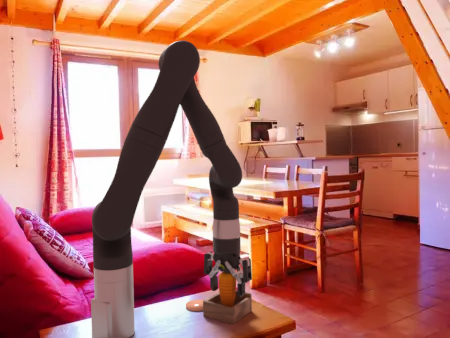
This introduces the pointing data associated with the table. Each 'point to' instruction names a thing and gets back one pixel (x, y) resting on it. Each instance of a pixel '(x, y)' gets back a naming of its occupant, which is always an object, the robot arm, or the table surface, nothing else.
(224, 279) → the carrot
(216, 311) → the brown open box
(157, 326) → the table surface
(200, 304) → the peach dome
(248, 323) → the table surface
